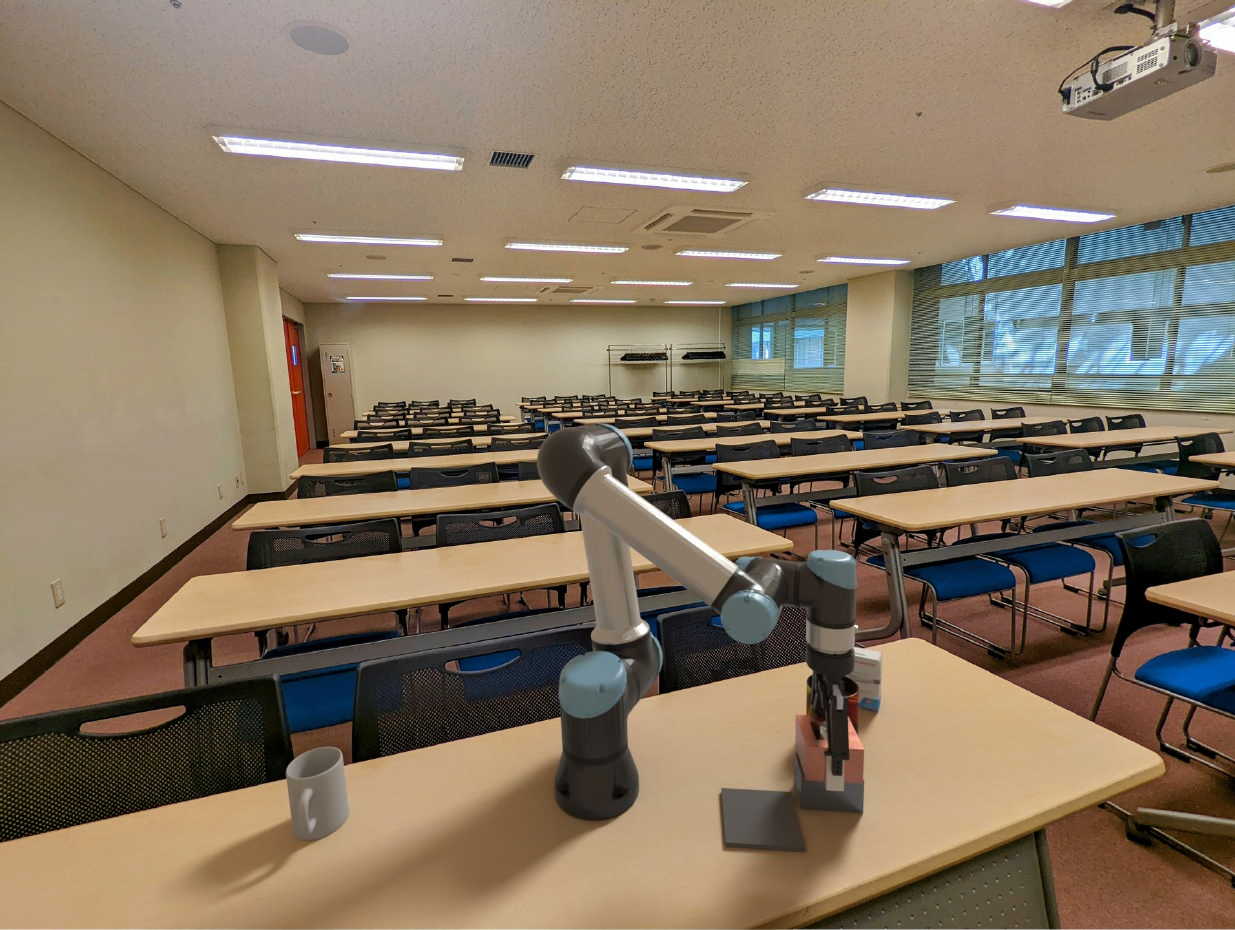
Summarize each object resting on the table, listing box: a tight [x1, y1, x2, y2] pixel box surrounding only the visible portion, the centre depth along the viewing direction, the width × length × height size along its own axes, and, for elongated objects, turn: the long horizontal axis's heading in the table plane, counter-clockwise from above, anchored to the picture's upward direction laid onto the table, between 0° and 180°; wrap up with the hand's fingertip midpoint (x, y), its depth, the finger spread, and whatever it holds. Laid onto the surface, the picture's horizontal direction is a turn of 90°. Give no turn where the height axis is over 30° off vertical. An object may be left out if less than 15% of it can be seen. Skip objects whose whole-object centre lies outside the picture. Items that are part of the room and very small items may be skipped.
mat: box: [720, 787, 807, 853], centre depth 93 cm, size 12×12×1 cm
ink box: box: [846, 646, 883, 712], centre depth 125 cm, size 8×5×12 cm, turn 58°
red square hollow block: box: [794, 714, 865, 783], centre depth 96 cm, size 9×9×6 cm
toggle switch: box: [793, 723, 865, 814], centre depth 96 cm, size 10×6×13 cm, turn 83°
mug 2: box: [805, 674, 860, 737], centre depth 114 cm, size 10×14×12 cm
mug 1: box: [285, 746, 350, 842], centre depth 93 cm, size 12×8×11 cm
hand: (827, 769), depth 96 cm, fingers closed on red square hollow block, 9 cm apart
